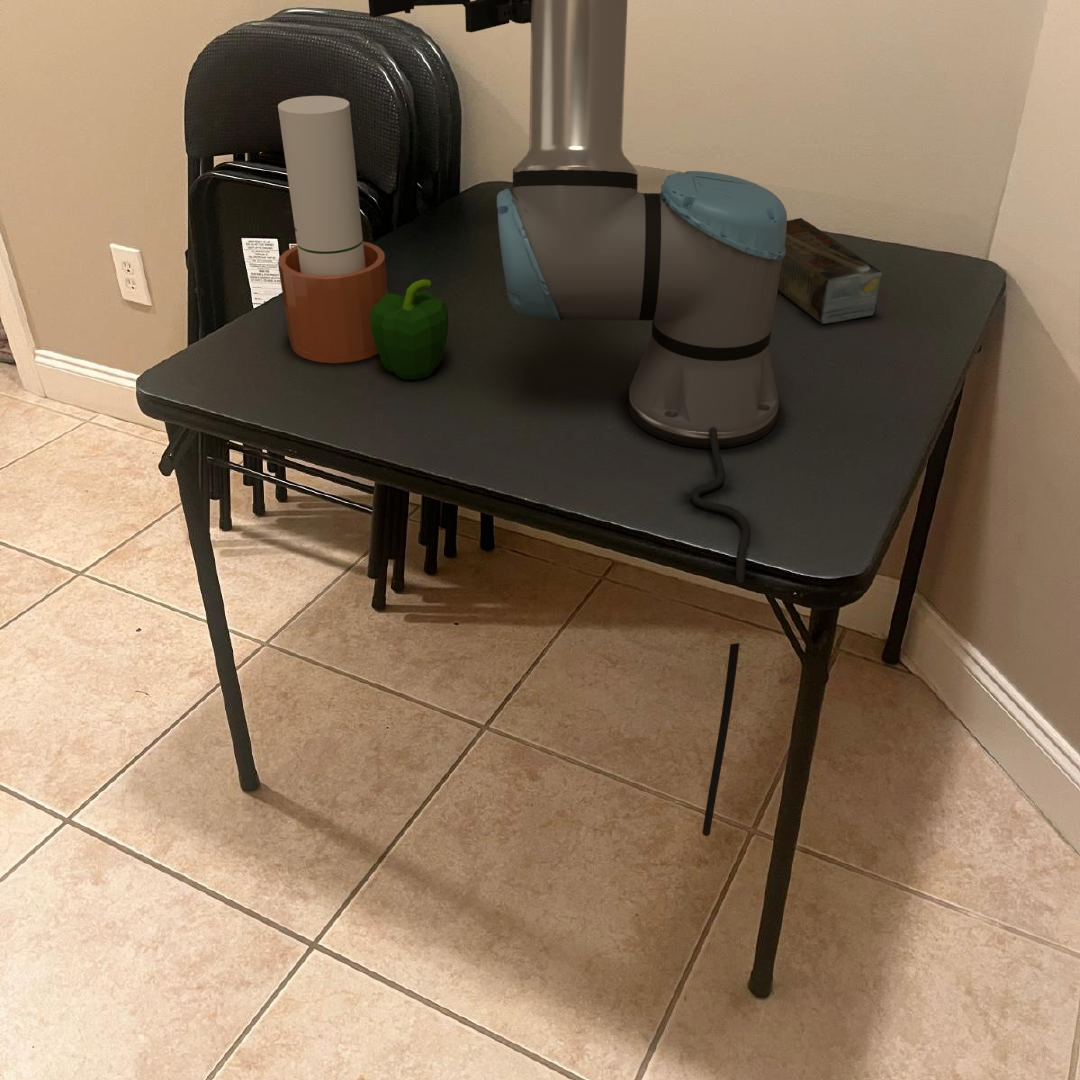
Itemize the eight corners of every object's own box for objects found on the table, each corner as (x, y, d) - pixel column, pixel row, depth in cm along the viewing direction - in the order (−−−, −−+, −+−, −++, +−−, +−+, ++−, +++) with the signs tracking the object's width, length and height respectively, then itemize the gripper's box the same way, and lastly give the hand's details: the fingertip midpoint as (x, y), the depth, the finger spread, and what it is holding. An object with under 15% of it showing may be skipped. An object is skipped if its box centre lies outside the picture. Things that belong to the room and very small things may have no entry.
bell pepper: (378, 390, 109) (369, 302, 103) (372, 356, 116) (364, 271, 110) (456, 383, 111) (451, 296, 105) (446, 350, 117) (442, 266, 111)
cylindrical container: (365, 316, 122) (342, 93, 107) (377, 341, 117) (355, 110, 102) (305, 323, 120) (273, 98, 105) (314, 349, 115) (282, 116, 100)
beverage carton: (818, 326, 123) (828, 274, 119) (743, 268, 138) (749, 220, 134) (875, 317, 125) (886, 265, 121) (795, 261, 140) (802, 213, 136)
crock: (393, 360, 115) (386, 275, 109) (288, 366, 114) (275, 280, 108) (390, 317, 124) (383, 236, 118) (292, 322, 123) (280, 241, 117)
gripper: (622, 32, 119) (512, 64, 105) (456, 8, 130) (337, 34, 116) (626, -42, 114) (511, -18, 100) (454, -60, 126) (329, -41, 112)
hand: (417, 10), depth 108 cm, fingers open, 13 cm apart
